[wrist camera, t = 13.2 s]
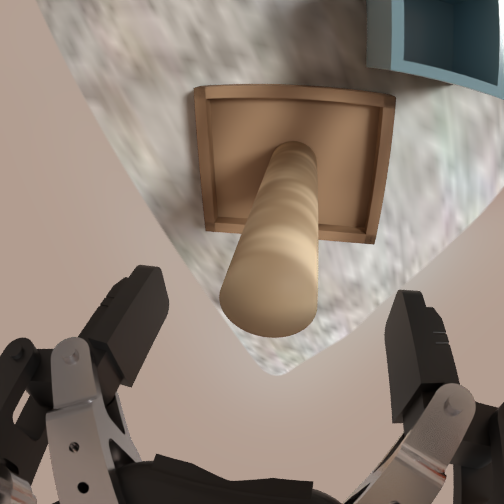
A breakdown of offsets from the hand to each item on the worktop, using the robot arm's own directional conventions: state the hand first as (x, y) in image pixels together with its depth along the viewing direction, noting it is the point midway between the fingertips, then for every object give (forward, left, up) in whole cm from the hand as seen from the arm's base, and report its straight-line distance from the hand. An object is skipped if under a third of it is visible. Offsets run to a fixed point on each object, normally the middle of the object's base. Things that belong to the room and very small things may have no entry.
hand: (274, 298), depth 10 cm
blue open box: (-8, -11, -14) cm, 19 cm away
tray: (0, 0, -14) cm, 14 cm away
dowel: (0, 0, -14) cm, 14 cm away
